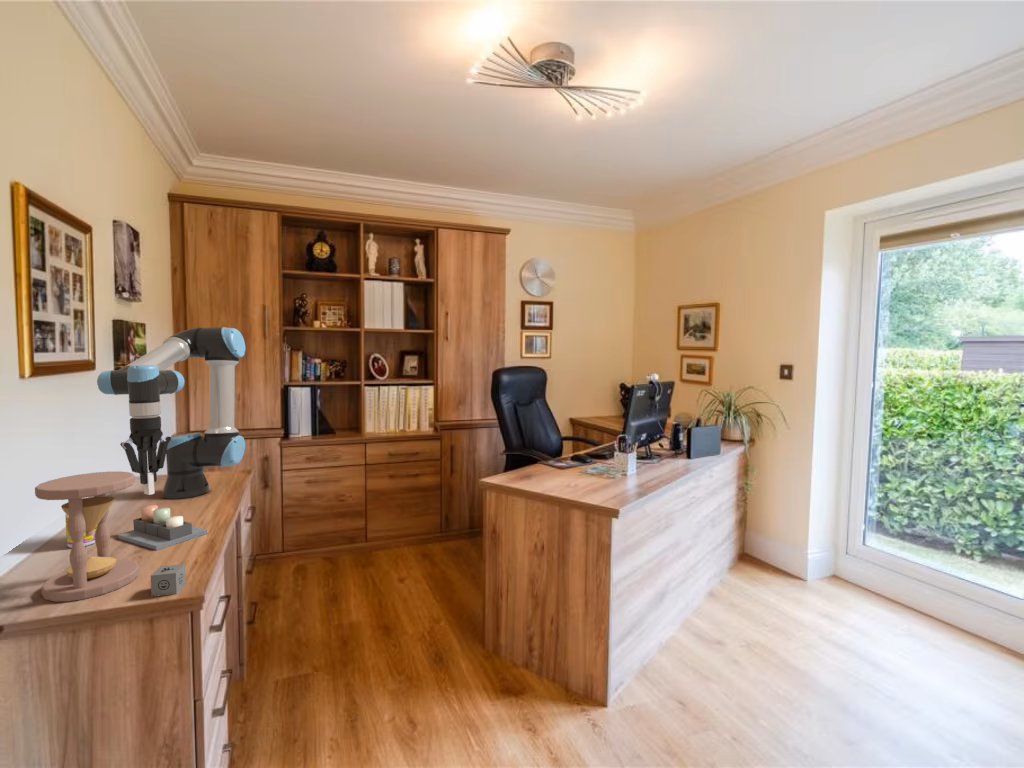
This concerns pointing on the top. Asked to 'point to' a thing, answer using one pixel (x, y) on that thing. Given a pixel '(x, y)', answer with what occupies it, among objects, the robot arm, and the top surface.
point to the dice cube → (168, 580)
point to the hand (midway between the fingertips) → (149, 493)
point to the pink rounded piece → (148, 512)
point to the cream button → (174, 521)
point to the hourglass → (85, 515)
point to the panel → (160, 534)
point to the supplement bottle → (86, 539)
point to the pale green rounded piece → (161, 515)
